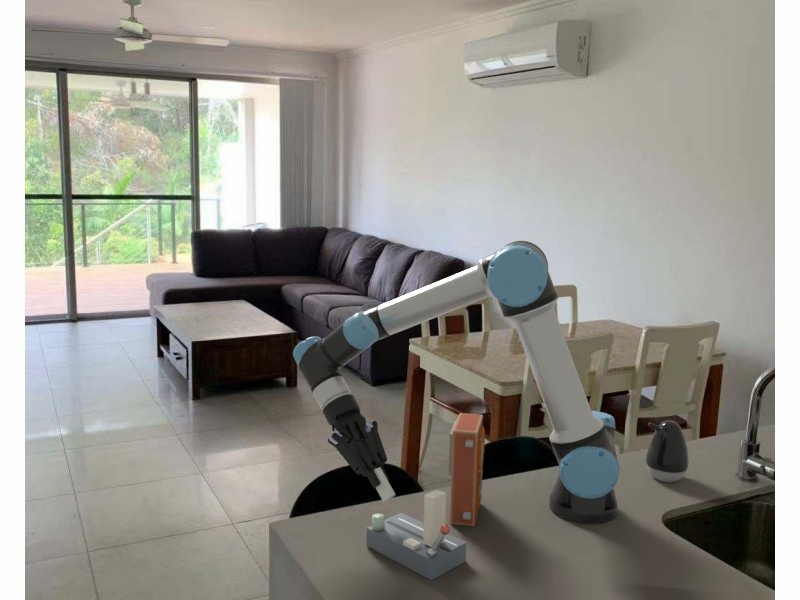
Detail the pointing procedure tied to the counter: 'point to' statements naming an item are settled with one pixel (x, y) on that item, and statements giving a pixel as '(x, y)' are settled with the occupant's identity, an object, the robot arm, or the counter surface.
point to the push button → (378, 522)
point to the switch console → (415, 546)
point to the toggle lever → (438, 541)
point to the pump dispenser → (667, 452)
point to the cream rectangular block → (433, 515)
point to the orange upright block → (466, 468)
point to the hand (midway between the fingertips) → (389, 498)
